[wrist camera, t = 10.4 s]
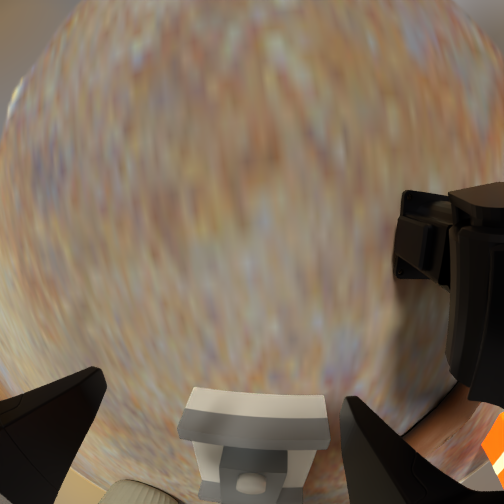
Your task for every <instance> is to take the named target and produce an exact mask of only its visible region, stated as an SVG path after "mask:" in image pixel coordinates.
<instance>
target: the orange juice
mask: <svg viewBox="0 0 504 504" xmlns="http://www.w3.org/2000/svg"><path fill="white" fill-rule="evenodd" d="M481 445H482V447H483V449H484V451H485V452H486V454H487V456H488V458H489V460H490V462H491V464H492V466H493V468H494V470H495V472H496V474H497V476H498V478H499V480H500V482H501V484H502V486H503V488H504V412H503V413H501V414H499V416H498V418H497V420H496V421H495V423H494V425H493V427H492V428H491V430H490V432H489V433H488V435H487V437H486V438H485V440H484V441H483V443H482V444H481Z"/></svg>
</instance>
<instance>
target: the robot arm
mask: <svg viewBox="0 0 504 504" xmlns="http://www.w3.org/2000/svg"><path fill="white" fill-rule="evenodd" d="M408 194H410V197H411V198H410V200H408V199H407V195H408ZM394 252H395V253H396V258H395V265H394V275H395V276H396V277H397V278H400V279H431V280H433V281H434V282H435V283H437V284H438V285H439V286H441V287H442V288H443V289H445V290H446V291H447V292H449V293H450V311H449V324H448V335H447V344H446V351H445V353H446V357H447V360H448V363H449V365H450V370H449V371H450V373H451V374H452V375H453V376H454V378H455V379H456V380H458V381H459V382H461V383H462V384H463V385H465V386H466V387H469V388H470V390H469V393H468V397H467V399H468V400H469V401H477V402H487V403H490V404H493V405H497V406H499V407H501V408H503V409H504V182H495V183H490V184H485V185H480V186H475V187H470V188H465V189H461V190H456V191H451V192H448V196H444V195H438V194H432V193H426V192H419V191H412V190H405V191H404V192H403V193H402V201H401V214H400V217H399V218H398V223H397V233H396V242H395V249H394ZM400 269H402V272H401V273H400V274H398V272H399V270H400ZM106 389H107V384H106V381H105V378H104V375H103V372H102V370H101V369H100V368H97V367H94V366H91V367H89V368H86V369H84V370H81V371H79V372H77V373H74V374H72V375H69V376H67V377H64V378H62V379H59V380H57V381H54V382H52V383H49V384H47V385H44V386H41V387H39V388H36V389H34V390H31V391H28V392H26V393H24V394H20V395H18V396H15V397H12V398H9V399H6V400H2V401H0V504H54V501H55V499H56V497H57V494H58V491H59V490H60V487H61V485H62V483H63V481H64V479H65V477H66V474H67V472H68V470H69V468H70V466H71V464H72V462H73V460H74V458H75V456H76V454H77V452H78V450H79V448H80V446H81V444H82V442H83V440H84V438H85V436H86V434H87V432H88V430H89V428H90V426H91V424H92V423H93V421H94V419H95V416H96V414H97V411H98V409H99V406H100V404H101V401H102V399H103V396H104V394H105V392H106ZM340 431H341V449H342V458H343V464H344V469H345V475H346V481H347V487H348V493H349V499H350V504H504V491H475V490H471V489H469V488H467V487H465V486H463V485H462V484H460V483H459V482H457V481H455V480H454V479H452V478H451V477H449V476H448V475H446V474H445V473H443V472H442V471H440V470H439V469H438V468H436V467H435V466H433V465H432V464H431V463H430V462H428V461H427V460H426V459H425V458H424V457H423V456H421V455H420V454H419V453H418V452H416V450H415V449H414V448H412V447H411V446H410V445H409V444H408V443H407V442H406V441H405V440H404V439H403V438H401V437H400V436H399V435H398V434H397V433H396V432H395V431H394V430H393V429H392V428H391V427H390V426H388V425H387V424H386V423H385V422H384V421H383V420H382V419H381V418H380V417H379V416H378V415H377V414H376V413H375V412H373V411H372V410H371V409H370V408H369V407H368V406H367V405H366V404H365V403H364V402H363V401H362V400H361V399H360V398H359V397H357V396H347V397H345V399H344V402H343V405H342V408H341V411H340Z"/></svg>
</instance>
